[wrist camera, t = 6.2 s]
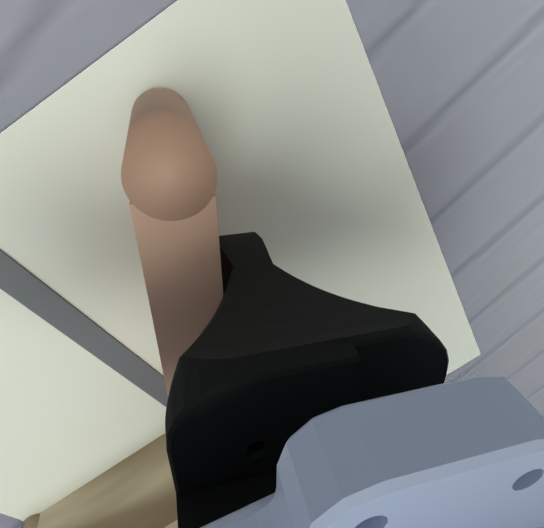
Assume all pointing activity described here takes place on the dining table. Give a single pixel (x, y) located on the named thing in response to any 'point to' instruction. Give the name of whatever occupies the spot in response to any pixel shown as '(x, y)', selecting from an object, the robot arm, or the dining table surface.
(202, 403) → the robot arm
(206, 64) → the card
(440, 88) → the dining table surface
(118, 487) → the hammer
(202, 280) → the tan wooden bar
